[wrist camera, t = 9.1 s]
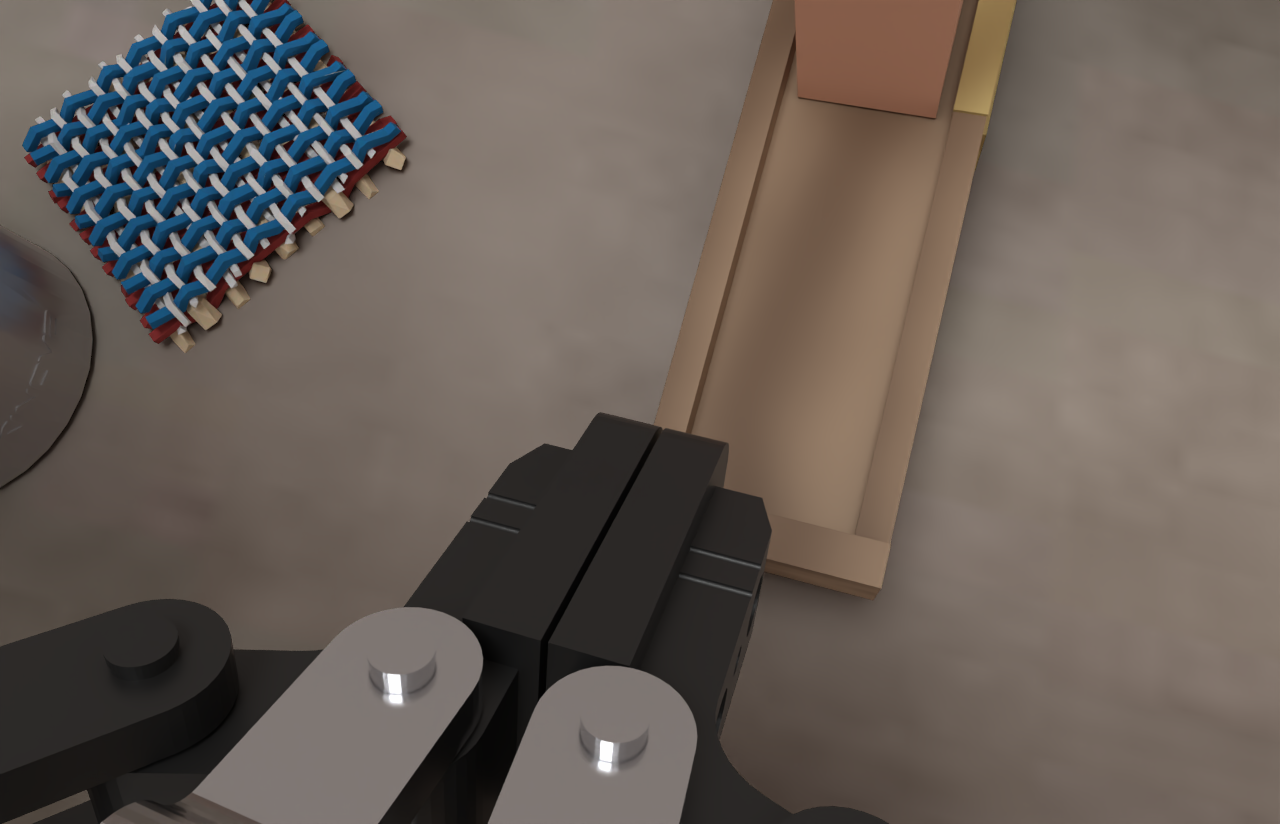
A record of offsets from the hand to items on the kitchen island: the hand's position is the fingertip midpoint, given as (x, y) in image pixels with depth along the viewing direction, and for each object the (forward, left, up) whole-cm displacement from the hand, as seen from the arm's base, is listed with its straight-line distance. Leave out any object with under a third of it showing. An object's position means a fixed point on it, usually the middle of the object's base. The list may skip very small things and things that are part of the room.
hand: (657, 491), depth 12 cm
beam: (0, +17, -17) cm, 24 cm away
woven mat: (-21, +10, -18) cm, 29 cm away
